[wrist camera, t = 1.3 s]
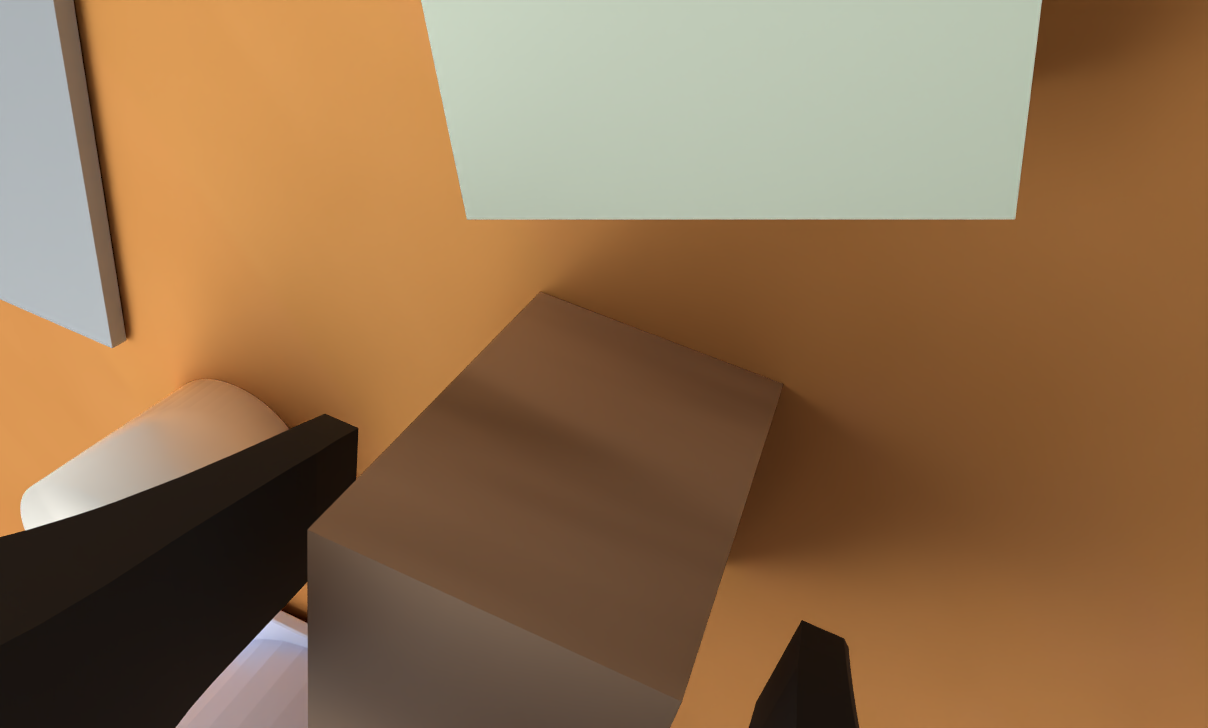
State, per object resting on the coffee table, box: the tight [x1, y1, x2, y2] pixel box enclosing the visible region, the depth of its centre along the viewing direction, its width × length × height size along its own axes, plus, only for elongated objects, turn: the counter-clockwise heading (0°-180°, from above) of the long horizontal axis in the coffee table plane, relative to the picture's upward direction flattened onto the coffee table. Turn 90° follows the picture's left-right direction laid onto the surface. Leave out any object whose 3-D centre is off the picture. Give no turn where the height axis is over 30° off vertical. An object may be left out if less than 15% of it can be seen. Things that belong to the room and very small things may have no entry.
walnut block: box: [307, 292, 783, 728], centre depth 13 cm, size 4×4×6 cm
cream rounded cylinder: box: [20, 379, 289, 530], centre depth 18 cm, size 4×4×4 cm
